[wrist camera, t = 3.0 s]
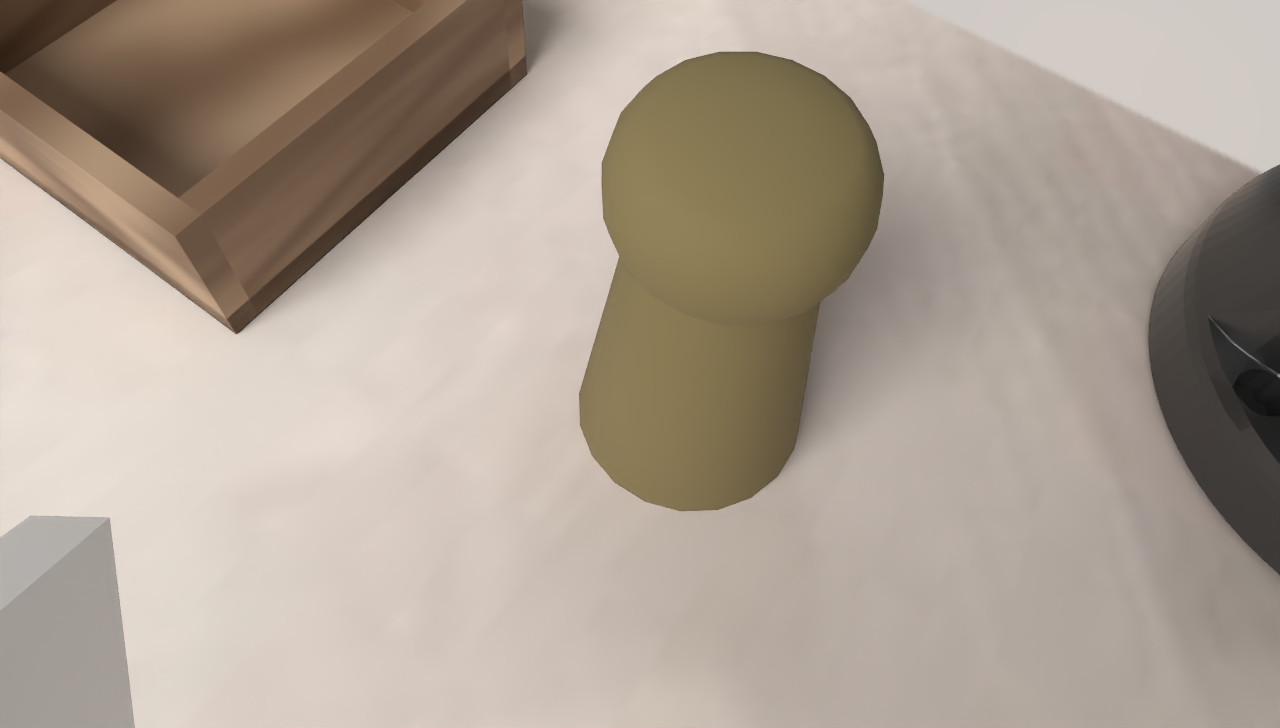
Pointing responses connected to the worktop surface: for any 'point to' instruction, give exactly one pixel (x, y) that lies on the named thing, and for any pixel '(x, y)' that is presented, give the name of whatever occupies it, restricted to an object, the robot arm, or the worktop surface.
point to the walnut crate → (242, 122)
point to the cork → (722, 271)
